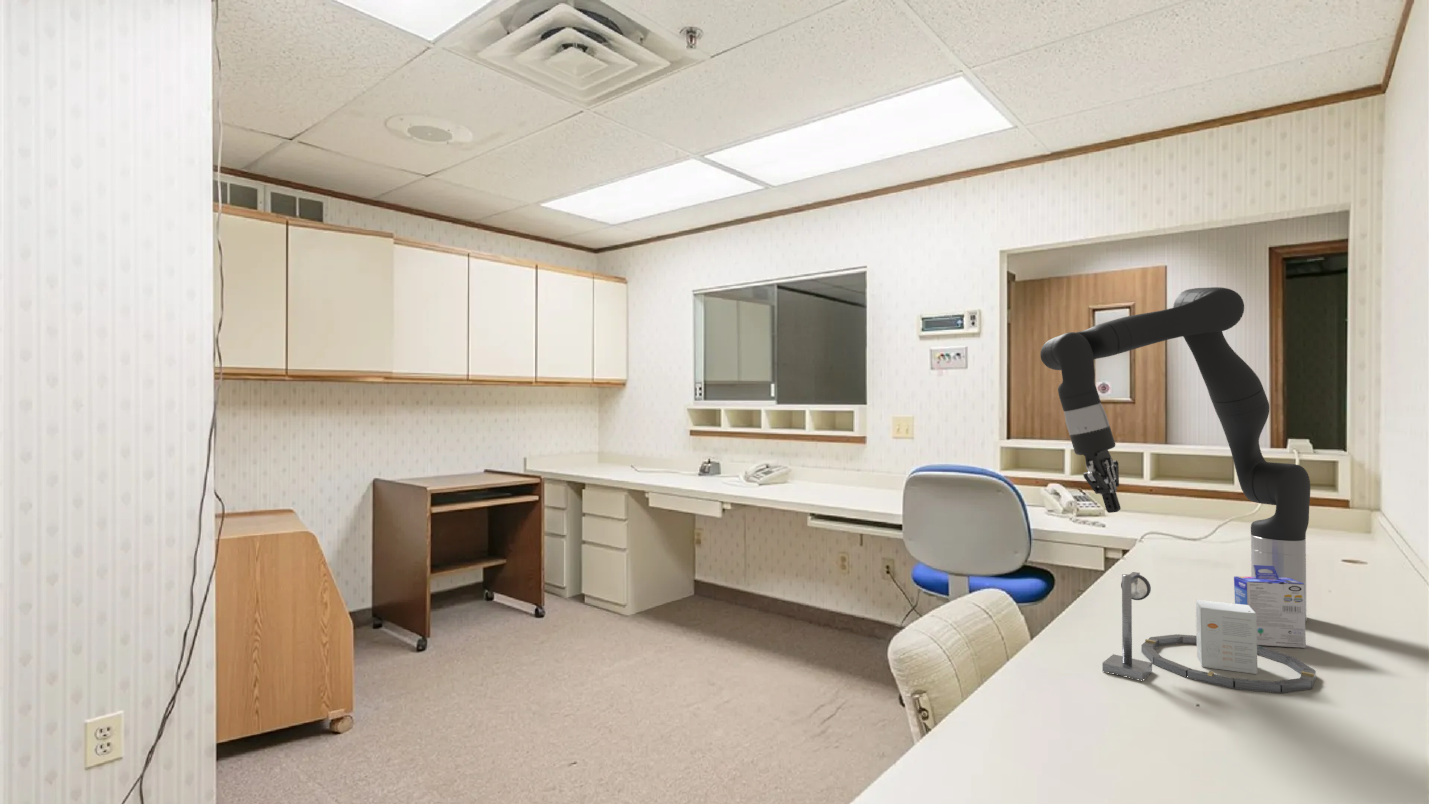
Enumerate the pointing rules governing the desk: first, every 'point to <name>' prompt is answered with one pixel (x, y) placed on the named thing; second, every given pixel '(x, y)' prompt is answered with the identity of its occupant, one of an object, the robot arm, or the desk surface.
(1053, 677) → the desk surface
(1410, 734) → the desk surface
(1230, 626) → the small box
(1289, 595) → the ink cartridge box
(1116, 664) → the dial gauge stand
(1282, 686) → the ring
